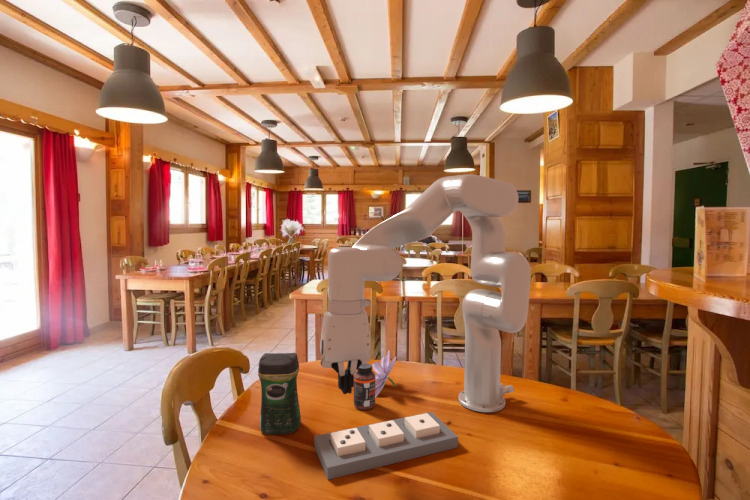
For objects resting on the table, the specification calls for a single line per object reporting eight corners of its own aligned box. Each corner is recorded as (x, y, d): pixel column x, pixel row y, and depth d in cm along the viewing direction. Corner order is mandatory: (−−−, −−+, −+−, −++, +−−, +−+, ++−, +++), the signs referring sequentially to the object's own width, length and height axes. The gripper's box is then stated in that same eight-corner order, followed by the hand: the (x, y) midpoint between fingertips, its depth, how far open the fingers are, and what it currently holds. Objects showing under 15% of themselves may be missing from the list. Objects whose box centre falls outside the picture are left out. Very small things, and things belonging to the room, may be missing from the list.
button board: (431, 421, 99) (431, 411, 99) (458, 447, 88) (458, 436, 88) (314, 446, 89) (314, 435, 89) (327, 479, 78) (327, 467, 77)
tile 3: (356, 437, 89) (356, 426, 89) (365, 452, 83) (365, 440, 83) (330, 443, 87) (330, 432, 87) (338, 459, 81) (337, 447, 81)
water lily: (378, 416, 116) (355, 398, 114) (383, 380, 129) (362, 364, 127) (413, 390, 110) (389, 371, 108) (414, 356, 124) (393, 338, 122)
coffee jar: (303, 418, 101) (301, 348, 99) (297, 436, 93) (295, 359, 91) (265, 419, 101) (263, 348, 99) (256, 436, 93) (254, 360, 91)
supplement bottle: (373, 411, 104) (372, 370, 103) (351, 409, 106) (351, 368, 104) (377, 401, 110) (377, 362, 109) (356, 399, 111) (356, 360, 110)
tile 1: (426, 422, 95) (427, 412, 95) (439, 435, 90) (439, 424, 90) (404, 427, 93) (404, 416, 93) (416, 440, 88) (416, 429, 88)
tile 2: (392, 429, 92) (392, 419, 92) (403, 443, 87) (403, 432, 86) (368, 435, 90) (368, 424, 90) (378, 449, 85) (378, 438, 84)
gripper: (373, 300, 88) (372, 379, 90) (307, 305, 83) (307, 389, 85) (386, 307, 82) (385, 393, 83) (314, 313, 76) (315, 404, 78)
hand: (345, 391), depth 84 cm, fingers closed
